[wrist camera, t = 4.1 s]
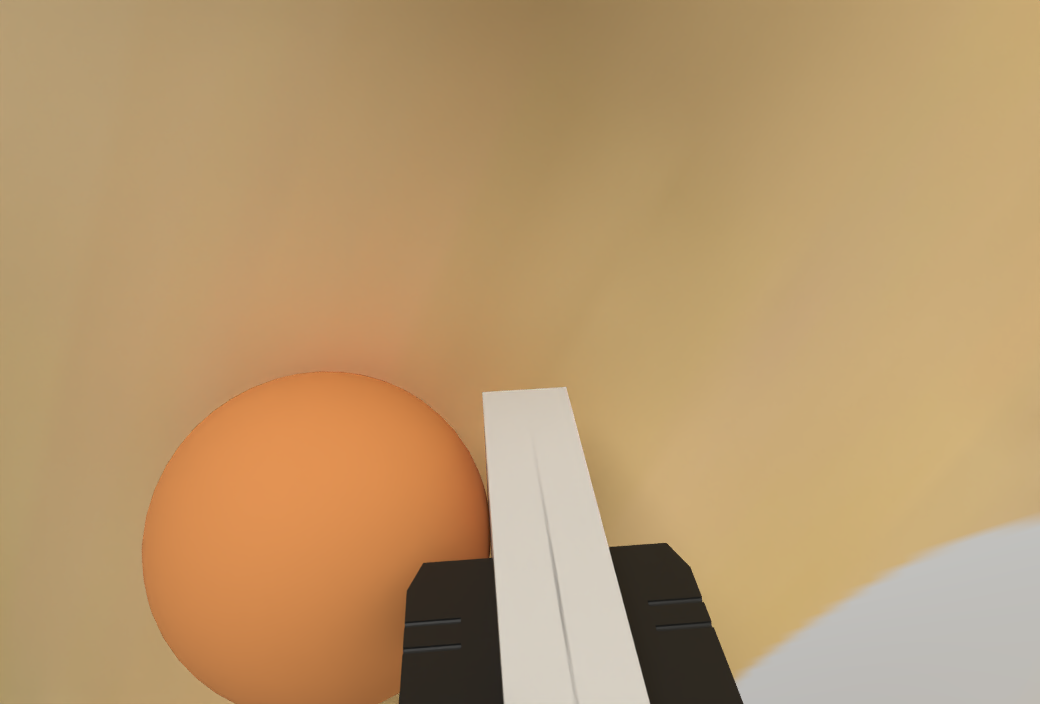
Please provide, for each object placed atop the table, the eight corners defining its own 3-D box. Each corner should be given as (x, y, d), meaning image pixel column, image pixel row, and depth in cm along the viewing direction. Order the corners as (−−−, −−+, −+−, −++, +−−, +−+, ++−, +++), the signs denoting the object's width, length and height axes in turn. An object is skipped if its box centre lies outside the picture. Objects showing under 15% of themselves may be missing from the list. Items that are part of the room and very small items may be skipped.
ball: (443, 484, 17) (181, 542, 16) (444, 284, 14) (107, 333, 12) (524, 720, 14) (188, 828, 12) (554, 527, 10) (81, 643, 8)
